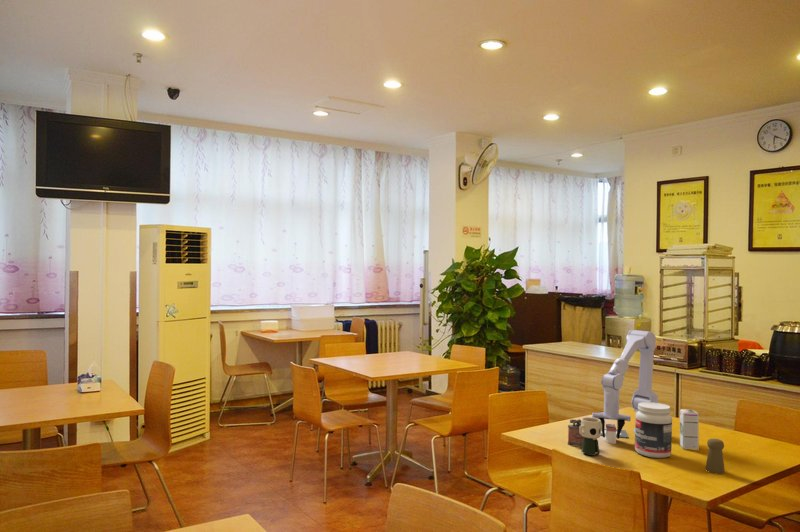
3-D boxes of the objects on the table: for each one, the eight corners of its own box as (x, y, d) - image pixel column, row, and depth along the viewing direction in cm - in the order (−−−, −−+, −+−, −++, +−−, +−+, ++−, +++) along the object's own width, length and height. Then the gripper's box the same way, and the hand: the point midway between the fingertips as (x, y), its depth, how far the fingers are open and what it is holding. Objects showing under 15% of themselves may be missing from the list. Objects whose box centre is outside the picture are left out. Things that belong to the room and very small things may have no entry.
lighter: (587, 444, 236) (588, 418, 236) (589, 446, 233) (590, 421, 233) (566, 443, 237) (567, 417, 237) (568, 445, 234) (568, 420, 234)
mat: (625, 431, 256) (625, 430, 256) (628, 438, 246) (628, 437, 246) (588, 428, 260) (588, 427, 260) (590, 434, 249) (590, 433, 249)
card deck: (614, 439, 244) (614, 424, 244) (616, 443, 237) (616, 428, 237) (605, 438, 245) (605, 423, 245) (606, 443, 238) (607, 428, 238)
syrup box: (699, 450, 231) (699, 413, 231) (682, 449, 232) (683, 412, 232) (694, 446, 236) (695, 409, 236) (678, 445, 237) (679, 408, 237)
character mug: (586, 458, 218) (586, 423, 218) (572, 453, 224) (573, 418, 224) (608, 455, 222) (609, 420, 222) (594, 449, 229) (595, 415, 229)
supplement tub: (628, 452, 226) (629, 404, 226) (645, 446, 234) (646, 400, 234) (661, 461, 216) (662, 411, 216) (677, 455, 224) (678, 406, 224)
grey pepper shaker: (701, 468, 210) (702, 436, 210) (717, 468, 210) (718, 436, 210) (712, 474, 204) (712, 441, 204) (728, 473, 204) (729, 441, 204)
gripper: (593, 404, 239) (592, 438, 239) (631, 407, 236) (631, 441, 236) (592, 400, 246) (591, 433, 246) (629, 403, 242) (628, 436, 242)
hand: (610, 437), depth 241 cm, fingers open, 5 cm apart
